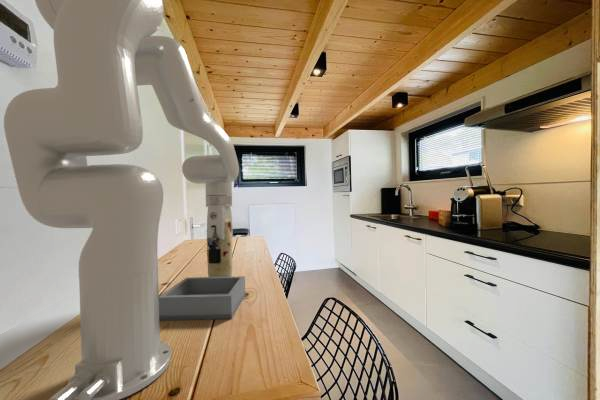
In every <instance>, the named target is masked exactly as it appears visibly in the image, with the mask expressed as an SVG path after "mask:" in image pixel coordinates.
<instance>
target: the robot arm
mask: <svg viewBox="0 0 600 400" xmlns="http://www.w3.org/2000/svg"><path fill="white" fill-rule="evenodd" d="M34 2H35V5H36V6H37V10H38V11H39V13H40V15H41V16H42V18H43V20H44V21H45V22H46V23H47V24H48V25H49V27H50V28H51V29H52V30H53V48H54V57H55V64H56V65H55V66H56V72H57V73H56V74H57V84H56V86H55V87H48V88H47V87H45V88H35V89H34V88H33V89H29V90H26V91H22V92H21V93H19V94H17V95H16V96H14V97H13V98H12V99H11V100H10V101H9V103H8V105H7V106H6V109H5V112H4V117H3V129H4V134H5V139H6V143H7V147H8V148H7V149H8V151H9V157H10V161H11V164H12V168H13V173H14V177H15V181H16V184H17V189H18V192H19V196H20V199H21V202H22V204H23V206H24V208H25V209H26V211H27V213H28V214H29V215H30V216H31V217H32V218H33V219H34V220H35V221H36V222H38V223H40V224H42V225H43V226H48V227H51V228H57V229H92V230H91V232H90V234H89V236H88V237H87V240H86V242H85V244H84V245H83V247H82V249H81V252H80V256H79V258H78V260H79V261H78V279H79V280H78V282H79V284H78V285H79V289H78V290H79V315H80V317H79V318H80V348H81V349H80V350H81V353H80V354H81V361H79V362H77V363H76V364H75V365H74V373H73V375H72V376H71V377H70V379H69V380H68V382H67V385H65V386H64V387H62V388H61V389H60V390H58V391H57V392H56V393H55V394H54V395H52V396H51V397H50V398H48V399H47V400H121V399H122V400H123V399H124V398H126V397H129V396H131V395H134V394H135V393H137V392H139V391H141V390H142V389H144V388H145V387H147V386H149V385H150V384H151V383H153V382H155V381H156V380H157V379H158V378H159V377H160V376H161V375H162V374H163V373H164V372H165V370H167V368H168V366H169V365H170V363H171V360H172V349H171V347H170V345H169V344H168V343H166V342H164V341H161V338H160V337H161V336H160V335H161V333H160V331H161V330H160V327H161V326H160V320H159V296H160V295H159V290H160V289H159V265H158V264H159V262H158V239H159V237H158V236H159V226H160V220H161V215H162V209H163V203H164V189H163V185H162V183H161V181H160V179H159V177H157V176H156V174H155V173H153V172H152V171H150V170H149V169H147V168H145V167H141V166H139V165H132V164H125V163H124V164H123V163H122V164H121V163H120V164H119V163H118V164H116V163H115V164H114V163H113V164H91V165H88V159H87V157H94V156H95V157H97V156H98V157H100V156H113V155H123V154H124V155H125V154H129V153H132V152H135V151H136V150H137V149H140V148H139V147H140V146H141V144H142V142H143V139H144V136H143V135H144V133H143V132H144V127H143V119H142V114H141V113H142V111H141V105H140V97H139V91H138V86H152V88H153V90H154V93H155V96H156V98H157V100H158V102H159V104H160V106H161V109H162V111H163V114H164V116H165V118H166V121H167V122H168V123H169V125H171V126H172V127H174V128H176V129H179V130H180V131H184V132H186V133H188V134H191V135H193V136H196V137H199V138H201V139H203V140H205V141H206V142H208V143H209V145H212V146H213V147H214V149H216V150H217V152H218V153H219V154H207V155H195V156H194V155H193V156H189V157H187V158H186V159H184V161H183V163H182V166H181V170H182V171H181V172H182V174H183V175H182V176H183V177H185V179H186V180H187V181H188V182H190V183H192V184H199V185H200V184H202V185H203V184H205V208H207V214H206V216H207V217H206V241H207V240H208V250H209V263H210V264H215V263H220V262H221V250H220V249H219V246H220V239H222V240H225V221H226V220H227V218H228V219H230V221H231V231H232V236H233V235H234V232H233V231H234V230H233V214H232V208H231V207H233V195H232V194H233V187H232V186H233V184H232V182H234V181H236V180H237V179H238V176H239V174H240V165H239V161H238V160H239V159H238V157H237V154H236V153H237V152H236V150H235V145H234V143H233V141H232V140H231V137H230V136H229V134H227V132H226V131H225V130H224V129H223V128H222V127H221V126H220V125H219V124H218V123H217V121H215V120H214V119H212V118H211V117H210V116H209V115H208V114H207V113H206V111H205V108H204V105H203V101H202V98H201V95H200V92H199V89H198V85H197V83H196V80H195V77H194V74H193V70H192V67H191V64H190V61H189V58H188V56H187V52H186V50H185V48H184V47H183V45H182V44H181V43H180V42H179V41H178V40H177V39H175V38H172V37H169V36H165V35H154V34H155V33H156V32H157V31H158V30H159V29H160V27H161V25H162V22H163V18H164V2H163V0H34ZM215 232H216V233H217V235H218V238H214V235H215ZM216 241H217V244H216Z"/></svg>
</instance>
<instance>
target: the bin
mask: <svg viewBox="0 0 600 400" xmlns="http://www.w3.org/2000/svg"><path fill="white" fill-rule="evenodd" d="M245 296H246V276H244V275H243V276H241V275H240V276H239V275H237V276H232V277H208V276H203V277H200V276H199V277H185V278H184V279H182V280H180V282H178V283H176V284H175V285H174V286H173V287H171V288H169V289H168V290H166V291H165V292H164V293H162V294H161V295H159V321H186V320H189V321H192V320H194V321H195V320H199V321H200V320H233V317H234V316H235V314H236V312H237V310H238V309H239V307H240V306H241V303H242V302H243V300H244V298H245Z"/></svg>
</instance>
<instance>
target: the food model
mask: <svg viewBox="0 0 600 400" xmlns="http://www.w3.org/2000/svg"><path fill="white" fill-rule="evenodd" d="M214 238H218V235H217V233H216V232H215V235H214ZM216 244H217V241H216ZM219 249H220V250H221V262H220V263H215V264H210V263H209V250H208V240H207V239H206V257H207V262H206V263H207V275H208V276H207V277H233V235H232V231H231V221H230V219H228V218H227V220H226V221H225V240H222V239H220V246H219Z"/></svg>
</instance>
